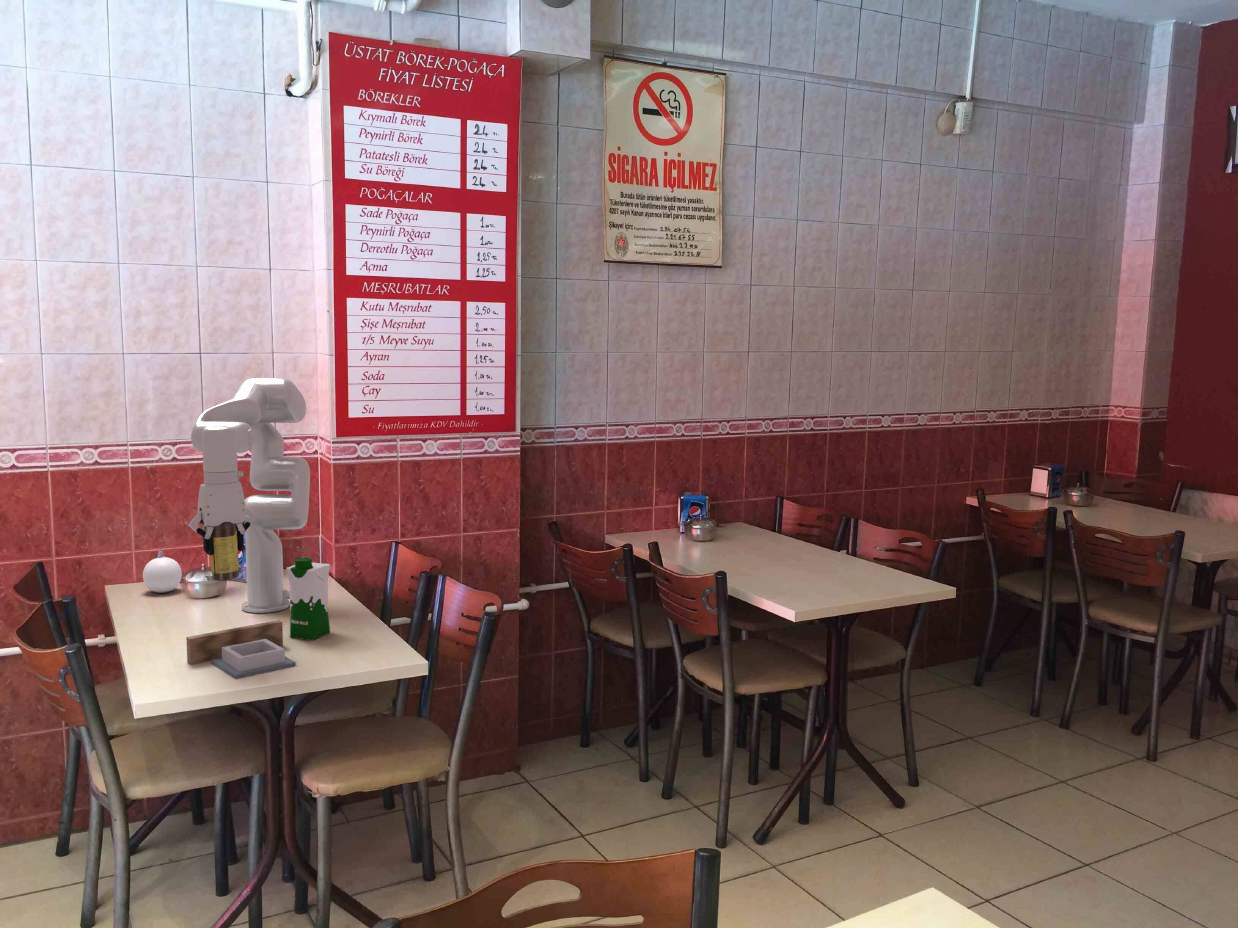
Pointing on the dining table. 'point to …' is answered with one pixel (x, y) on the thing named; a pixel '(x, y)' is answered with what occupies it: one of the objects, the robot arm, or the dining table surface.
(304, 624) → the milk carton
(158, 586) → the ornament
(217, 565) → the sauce bottle
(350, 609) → the dining table surface
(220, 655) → the walnut wall
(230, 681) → the dining table surface
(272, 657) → the holder
